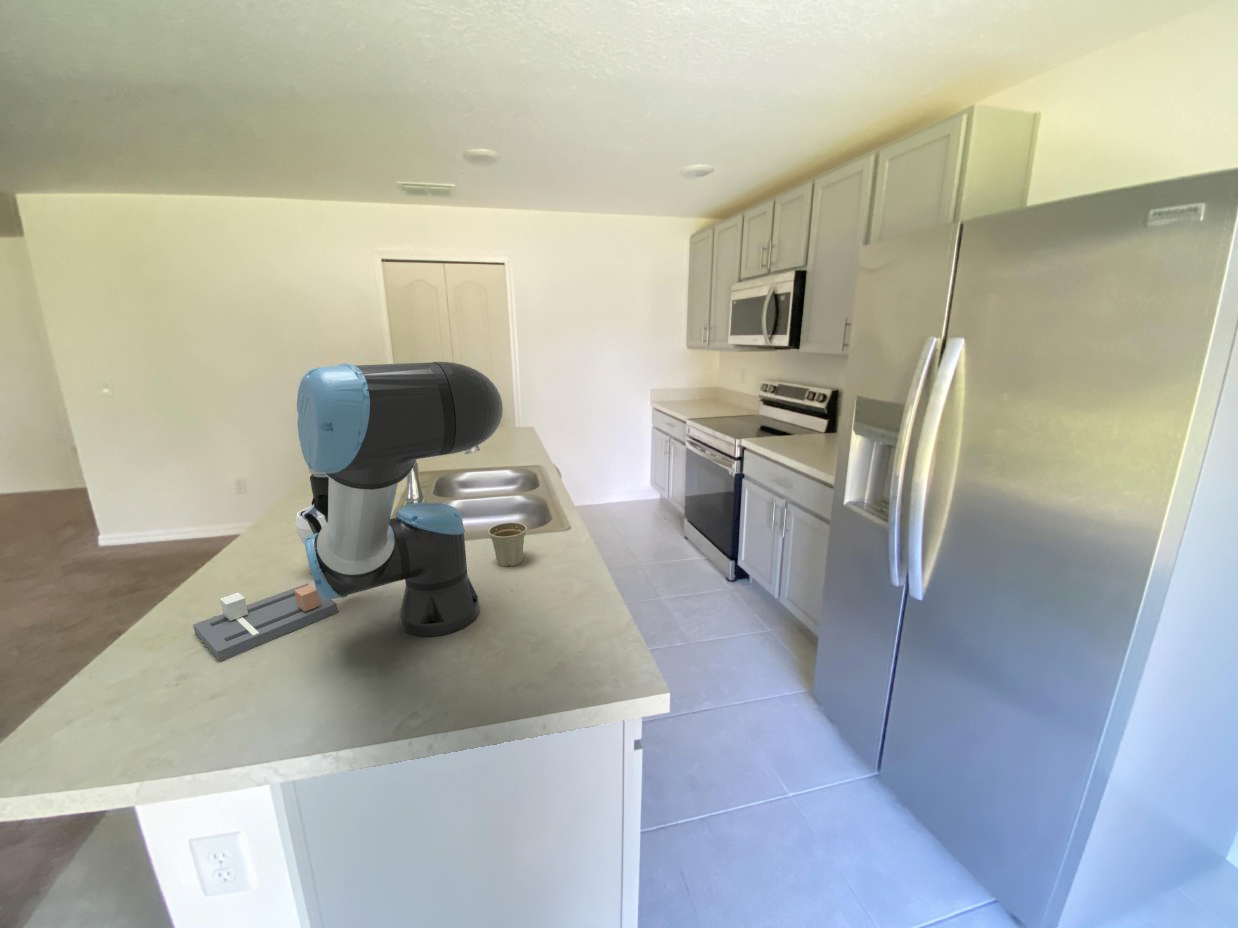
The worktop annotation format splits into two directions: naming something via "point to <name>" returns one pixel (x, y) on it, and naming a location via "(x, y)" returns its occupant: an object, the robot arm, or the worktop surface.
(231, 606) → the block
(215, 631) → the console
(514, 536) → the flower pot
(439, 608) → the robot arm
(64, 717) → the worktop surface
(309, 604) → the fader front
